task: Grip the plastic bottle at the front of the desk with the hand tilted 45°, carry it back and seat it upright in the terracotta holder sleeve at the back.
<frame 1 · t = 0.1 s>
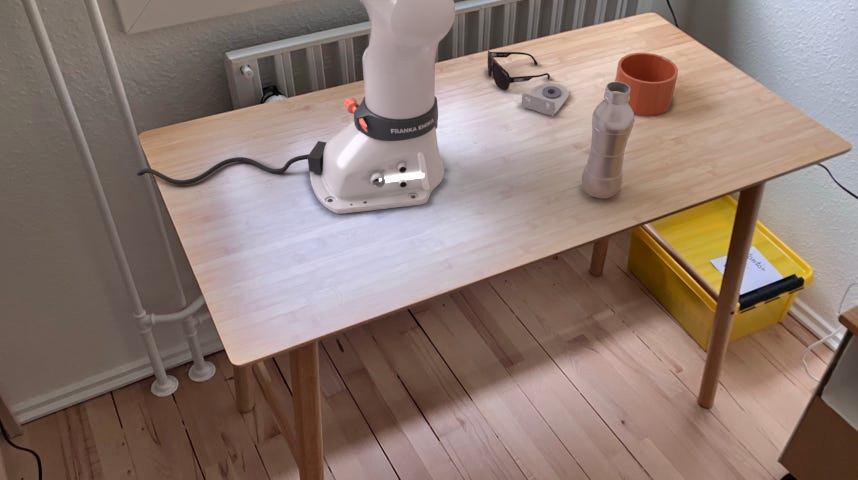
sunglasses: (517, 78, 166), on the table
holder sleeve: (641, 99, 161), on the table
bracket: (544, 102, 160), on the table
plastic bottle: (599, 192, 140), on the table
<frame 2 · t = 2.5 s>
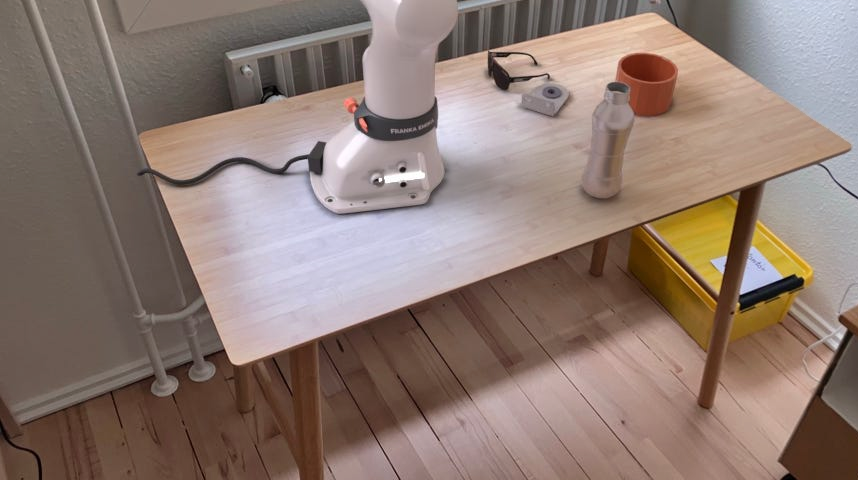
hand: (624, 1, 131), 28 cm above the table, tool tilted 35°, fingers open, 8 cm apart
nothing on the table moved.
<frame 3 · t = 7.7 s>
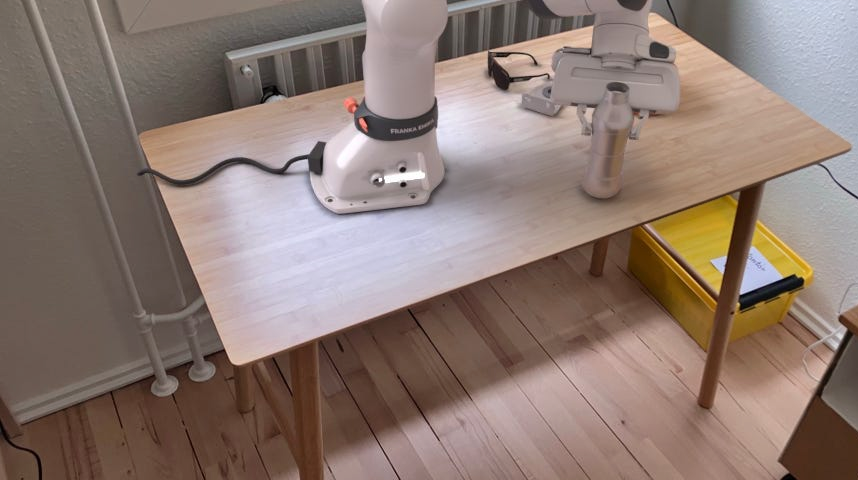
hand: (610, 137, 132), 11 cm above the table, tool tilted 45°, fingers closed on plastic bottle, 6 cm apart
plastic bottle: (599, 192, 140), on the table, touching gripper
everything else where it was.
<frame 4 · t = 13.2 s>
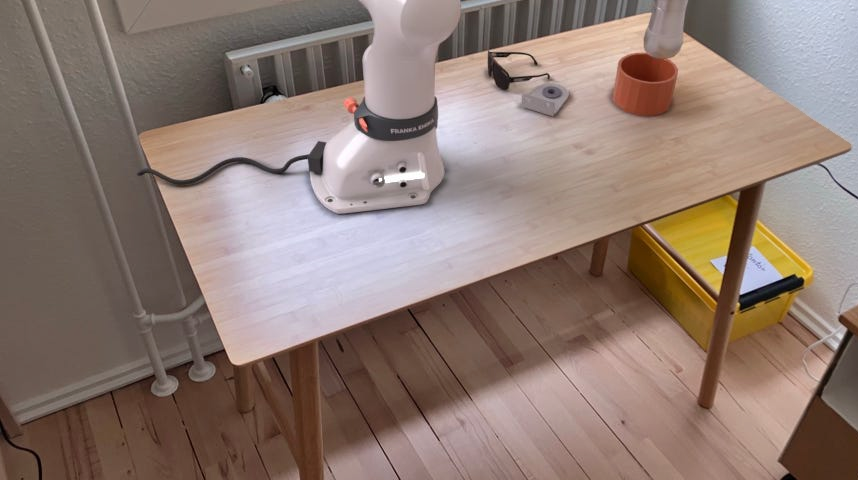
plastic bottle: (660, 55, 144), point 15 cm above the table, touching gripper
everything else where it was.
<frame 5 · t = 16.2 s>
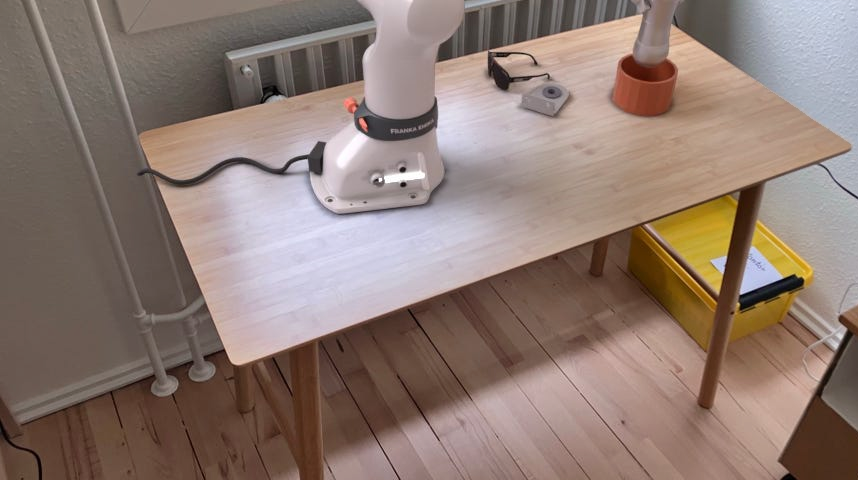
hand: (662, 7, 148), 19 cm above the table, tool tilted 45°, fingers closed on plastic bottle, 6 cm apart
plastic bottle: (648, 64, 156), point 8 cm above the table, touching gripper
everything else where it was.
when the fingers open (12 cm above the table, at t = 18.8 s): plastic bottle stays where it is, resting on holder sleeve.
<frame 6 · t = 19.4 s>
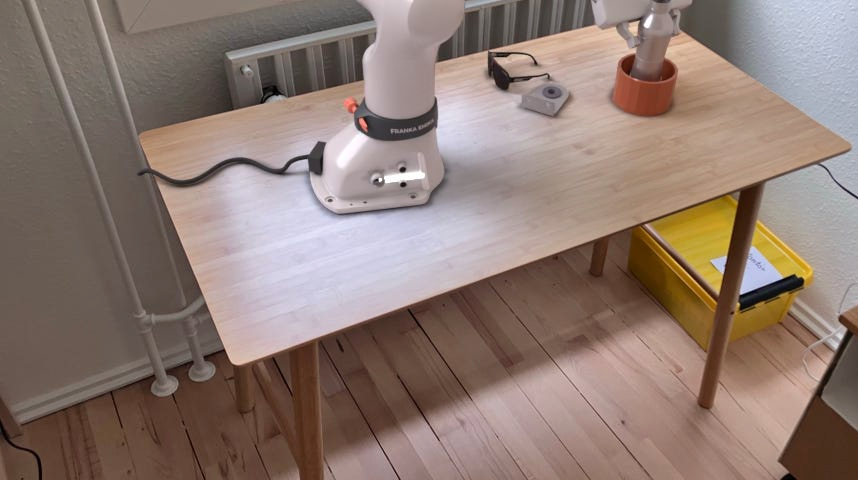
hand: (655, 41, 152), 13 cm above the table, tool tilted 45°, fingers open, 8 cm apart
plastic bottle: (641, 98, 161), resting on holder sleeve
everything else where it was.
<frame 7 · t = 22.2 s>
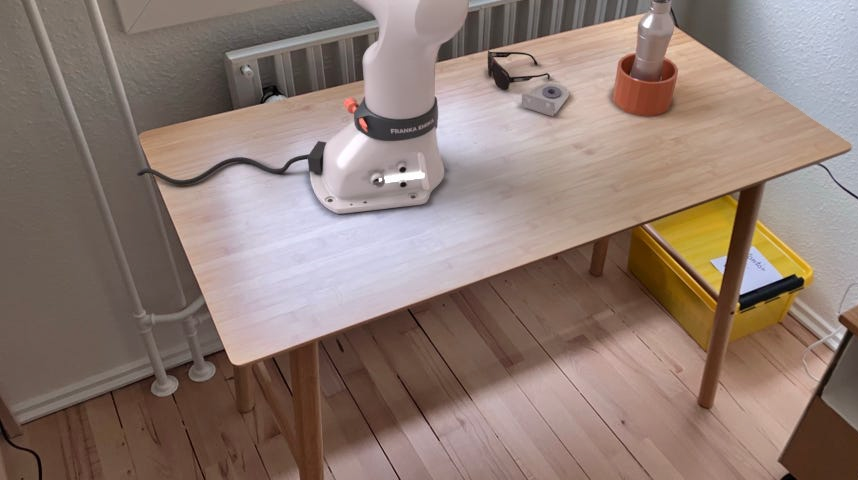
nothing on the table moved.
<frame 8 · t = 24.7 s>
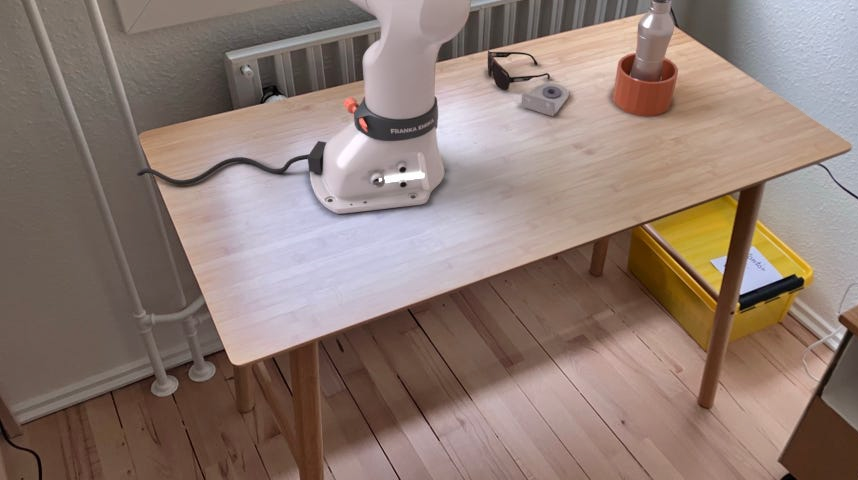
nothing on the table moved.
at the end: plastic bottle 0.1 cm off-centre in the holder sleeve, point 0.4 cm above the holder sleeve's base; plastic bottle tilted 0°; the gripper is holding nothing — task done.
